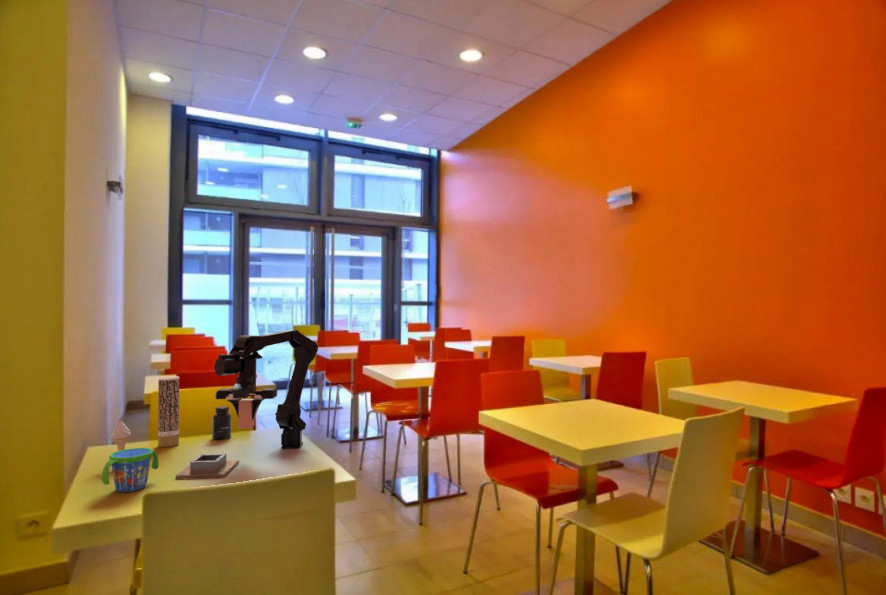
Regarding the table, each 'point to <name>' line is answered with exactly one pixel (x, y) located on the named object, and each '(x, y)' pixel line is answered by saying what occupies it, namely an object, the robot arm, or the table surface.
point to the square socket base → (208, 467)
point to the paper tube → (168, 411)
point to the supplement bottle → (221, 423)
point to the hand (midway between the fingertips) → (246, 419)
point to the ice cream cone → (121, 435)
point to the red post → (246, 413)
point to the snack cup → (130, 468)
